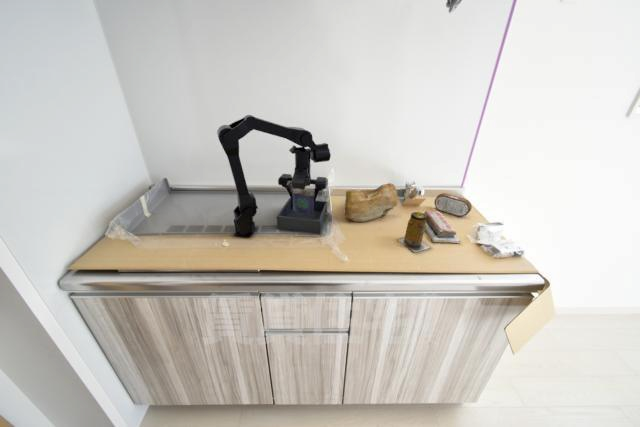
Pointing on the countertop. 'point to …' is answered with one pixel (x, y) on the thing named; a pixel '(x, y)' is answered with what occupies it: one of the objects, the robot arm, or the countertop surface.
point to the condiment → (415, 232)
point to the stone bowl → (370, 203)
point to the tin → (453, 204)
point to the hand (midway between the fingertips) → (303, 200)
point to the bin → (302, 218)
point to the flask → (303, 202)
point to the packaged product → (439, 228)
